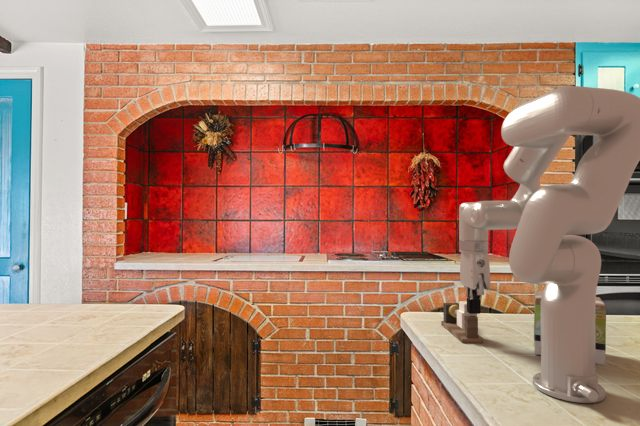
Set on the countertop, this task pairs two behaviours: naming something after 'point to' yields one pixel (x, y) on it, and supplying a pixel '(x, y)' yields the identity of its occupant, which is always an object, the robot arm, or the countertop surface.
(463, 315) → the sleeve
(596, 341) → the tea box
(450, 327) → the rail
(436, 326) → the countertop surface
